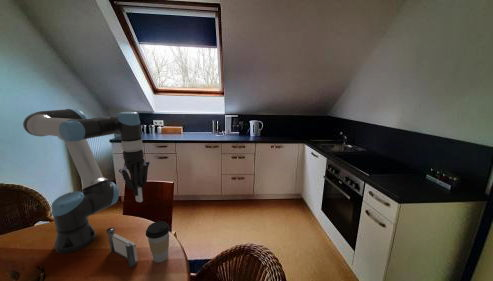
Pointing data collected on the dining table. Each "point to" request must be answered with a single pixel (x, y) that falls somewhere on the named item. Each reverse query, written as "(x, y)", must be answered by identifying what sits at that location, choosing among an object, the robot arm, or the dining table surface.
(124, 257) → the bar
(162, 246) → the coffee cup
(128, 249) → the post
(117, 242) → the gate
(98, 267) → the dining table surface
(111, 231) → the hinge post
